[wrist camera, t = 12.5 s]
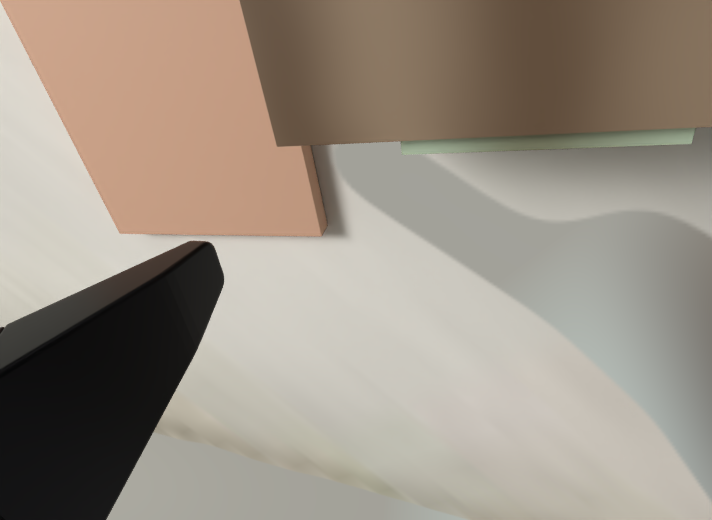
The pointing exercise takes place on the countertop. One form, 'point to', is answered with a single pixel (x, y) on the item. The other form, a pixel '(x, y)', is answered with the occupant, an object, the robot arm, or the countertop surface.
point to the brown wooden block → (483, 72)
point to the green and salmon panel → (170, 116)
